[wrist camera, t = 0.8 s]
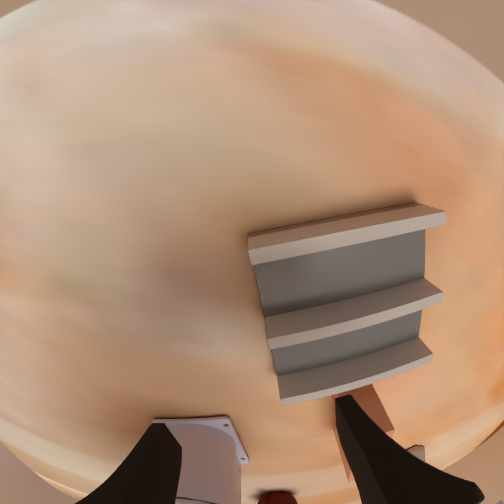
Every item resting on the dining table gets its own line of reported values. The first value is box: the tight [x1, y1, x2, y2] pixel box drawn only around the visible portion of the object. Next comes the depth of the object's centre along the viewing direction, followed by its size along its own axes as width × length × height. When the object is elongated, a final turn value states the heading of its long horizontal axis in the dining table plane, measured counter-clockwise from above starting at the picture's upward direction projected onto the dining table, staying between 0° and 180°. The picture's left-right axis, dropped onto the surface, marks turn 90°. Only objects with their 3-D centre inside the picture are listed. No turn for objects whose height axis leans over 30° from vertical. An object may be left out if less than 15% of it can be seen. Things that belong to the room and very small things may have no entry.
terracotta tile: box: [333, 384, 394, 482], centre depth 19 cm, size 8×3×7 cm, turn 11°
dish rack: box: [247, 203, 446, 406], centre depth 17 cm, size 12×12×4 cm
